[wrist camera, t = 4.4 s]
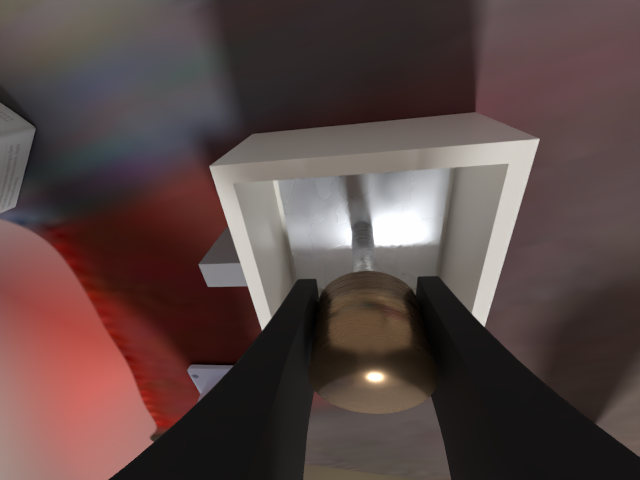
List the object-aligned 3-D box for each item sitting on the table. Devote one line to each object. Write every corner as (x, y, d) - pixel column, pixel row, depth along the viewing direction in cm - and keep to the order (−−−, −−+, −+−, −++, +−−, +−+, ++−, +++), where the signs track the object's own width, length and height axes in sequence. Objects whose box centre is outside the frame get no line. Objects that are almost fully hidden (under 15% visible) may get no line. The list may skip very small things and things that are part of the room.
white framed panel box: (446, 287, 16) (475, 358, 12) (256, 290, 18) (230, 354, 14) (475, 112, 11) (539, 138, 7) (210, 138, 13) (149, 171, 9)
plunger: (431, 279, 15) (493, 453, 8) (300, 282, 16) (264, 439, 9) (449, 143, 11) (588, 261, 5) (277, 157, 12) (188, 272, 6)
